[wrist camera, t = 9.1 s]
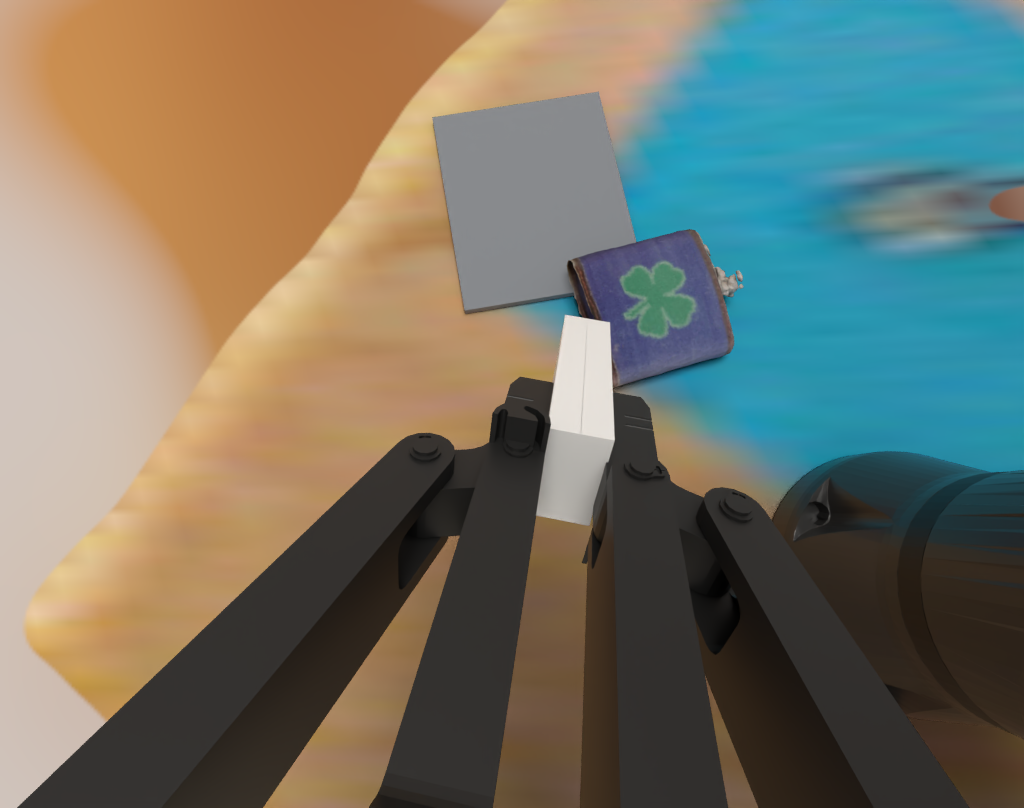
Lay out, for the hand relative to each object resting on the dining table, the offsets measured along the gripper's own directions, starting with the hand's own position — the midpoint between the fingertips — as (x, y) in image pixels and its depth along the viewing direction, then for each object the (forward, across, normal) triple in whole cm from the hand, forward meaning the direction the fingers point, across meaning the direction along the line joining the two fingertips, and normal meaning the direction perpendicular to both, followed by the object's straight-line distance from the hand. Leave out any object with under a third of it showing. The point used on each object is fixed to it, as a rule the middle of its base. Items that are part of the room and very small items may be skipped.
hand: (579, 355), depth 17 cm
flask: (+16, +1, -5) cm, 17 cm away
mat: (+24, -4, 0) cm, 24 cm away
